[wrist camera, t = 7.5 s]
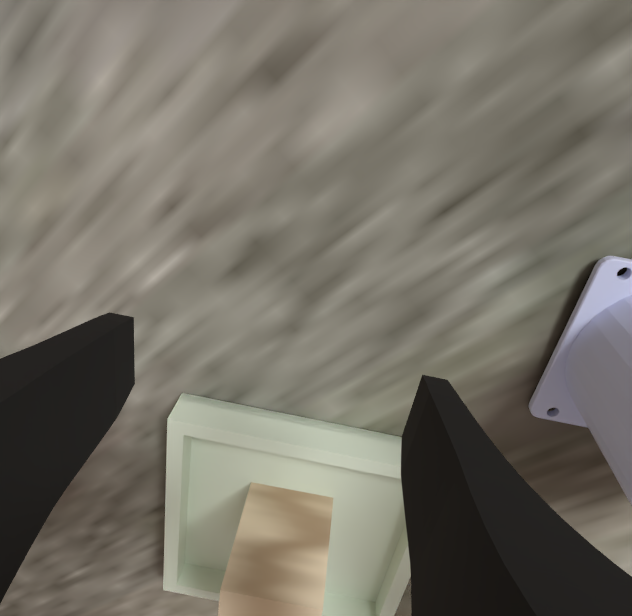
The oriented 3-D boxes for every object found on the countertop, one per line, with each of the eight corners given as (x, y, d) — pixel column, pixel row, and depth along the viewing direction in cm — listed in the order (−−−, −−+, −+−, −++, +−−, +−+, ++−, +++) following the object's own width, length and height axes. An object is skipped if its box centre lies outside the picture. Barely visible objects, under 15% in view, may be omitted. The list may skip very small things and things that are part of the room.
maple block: (333, 497, 26) (322, 610, 21) (321, 550, 29) (308, 664, 23) (251, 482, 27) (220, 590, 21) (244, 536, 29) (215, 646, 23)
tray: (447, 446, 25) (452, 476, 23) (385, 603, 31) (385, 636, 29) (182, 392, 25) (167, 418, 23) (175, 559, 31) (163, 589, 30)
